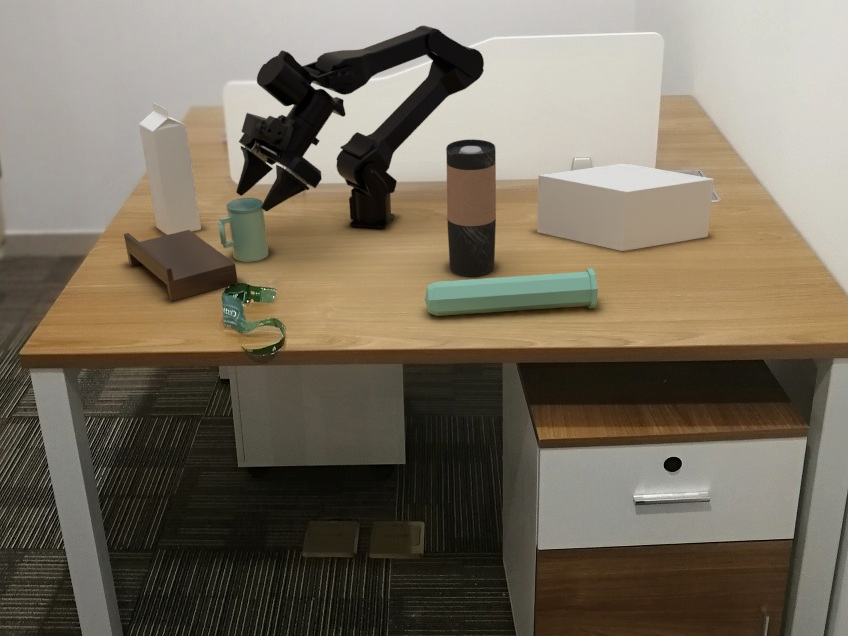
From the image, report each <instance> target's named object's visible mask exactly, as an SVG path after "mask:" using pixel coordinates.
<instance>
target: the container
mask: <svg viewBox="0 0 848 636" xmlns="http://www.w3.org/2000/svg"><path fill="white" fill-rule="evenodd" d="M598 294H599V287H598V280H597V273H596V272H595V270H594V268H593V267H589V268H586V270H585V271H577V272H575V271H573V272H562V273H561V272H560V273H547V274H531V275H515V276H502V277H487V278H486V277H485V278H474V279H458V280H443V281H441V280H440V281H433V282H432V283H430V284H428V285H427V286H426V291H425V296H424V302H425V305H426V308H427V311H428V314H430V315H433V316H436V317H443V316H458V315H472V314H485V313H501V312H516V311H530V310H544V309H546V310H547V309H557V308H573V307H587V308H588V309H595V308H596V306H597V305H598Z"/></svg>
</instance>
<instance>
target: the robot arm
mask: <svg viewBox="0 0 848 636" xmlns="http://www.w3.org/2000/svg"><path fill="white" fill-rule="evenodd" d="M424 56H426V57H427V58H429V59H430V60H431V64H430V67H429V70H428V74H427V77H426V78H425V79H424V80H423V81H422V82H421V83H420V84H419V85H418V86H417V87H416V88H415V90H413V91H412V92H411V93H410V95H408V96H407V98H406V99H405V100H404V101H403V102H401V104H400V105H399V106H398V107H397V108H396V109H395V110H393V112H392V113H391V114H390V115H389V116H388V117H387V118H386V119H385V120H384V121H383V122H382V123H381V124H380V125H379V126H378V127H377V128H376V129H375V130H374V131H373V132H372V133H369V134H367V135H366V134H363V133H360V132H358V131H357V132H355V133H354V134H353V135H352V136H351V137H350V139H349V140H348V141H347V142H346V143H345V144H343V145H341V146H340V147H339V148H340V149H341V151H340V152H339V154H338V155H337V156H336V170H337V173H338V175H339V176H340V177H341V178H343V179H344V181H345V183H346V185H347V186H349V187H351V188H352V189H351V190H350V194H351V195H350V197H349V198H348V202H349V218H350V220H351V222H349V226H350V227H354V228H366V229H367V228H368V229H379V230H385V229H386V228H387V227H388V225H389V224H390V223H391V222H392V221H393V219H394V218H395V213H392V203H391V200H392V199H391V194H393V193H395V190H396V187H397V183H398V181H397V179H396V178H394V177H393V176H392V175H391V174H389V173H388V171H389V169H390V166H391V162H392V159H393V155H394V154H395V152H396V151H397V150H398V149H399V147H400V146H402V145H403V144H404V142H405V141H406V140H408V138H410V136H411V135H412V134H413V133H414V132H415V131H416V130H417V129H418V128H419V127H420V126H421V125H422V124H423V123H424V122H425V121H426V119H428V117H429V116H430V115H432V113H433V112H434V111H435V110H436V109H438V107H439V106H440V105H441V104H442V103H443V102H444V101H445V100H446V99H447V98H448V97H449V96H452V95H455V94H456V93H459V92H461V91H464V90H466V89H467V88H469V87H471V86H472V85H473V84H474V83H476V82H477V81H478V80H479V79H480V78H481V77H482V75H483V73H484V71H485V70H484V66H485V61H484V57H483V54H482V53H481V52H480V50H477V49H476V48H473V47H469V46H466V45H463V44H461V43H459V42H458V41H456V40H454V39H452V38H451V37H449V36H447V35H446V34H445V33H443V32H442V31H441V30H440V29H439V28H436V27H431V26H428V25H420V26H418V27H416V28H415V29H413V30H410V31H407V32H404V33H402V34H399V35H396V36H393V37H391V38H388V39H385V40H383V41H381V42H377V43H375V44H372V45H370V46H366V47H364V48H360V49H342V50H335V51H329V52H324V53H322V54H321V55H319V56H318V57H317V59H316V61H313V62H310V63H308V64H304V65H302V64H301V63H299V62H298V61H297V60H296V59H295V58H294V56H293V54H291V53H290V52H288V51H286V50H280V52H279V53H278V54H277V55H275V56H273V57H271V58H270V59H269V60H268V61H266V63H263V64H262V66H261V67H260V69H259V70H258V73H257V76H256V84H257V85H258V86H259V87H260V88H261V89H262V90H264V91H265V92H267V93H268V94H269V95H270V96H272V97H273V98H274V99H275V100H276V101H277V102H279V103H280V104H281V105H282V106H284V107H291V106H292V107H291V109H290V111H289V112H288V113H287V114H286V115H283V114H281V115H278V116H277V117H275V116H272V115H268V116H267V117H263V116H259V115H256V114H253V113H249V112H246V114H245V117H244V122H243V125H242V127H241V128H242V129H241V133H243V135H242V136H241V138H240V139H239V140H238V143H240V144H241V145H240V150H241V151H242V155H243V160H244V161H243V166H242V170H241V173H240V177H239V180H238V184H237V188H236V191H235V192H236V194H237V195H239V196H243V195H245V194H246V193H247V192H249V191H250V190H251V189H252V188H253V187H254V186H255V185H256V184H258V183H259V182H260V181H261V180H262V179H263V178H264V177H265V176H267V175H268V174H269V173H270V172H271V171H273V169H274V168H273V167H272V166H273V165H275V171H276V172H275V173H276V178H275V180H274V181H273V184H272V186H271V188H270V189H269V191H268V193H267V195H266V196H265V198H264V200H263V205H262V209H263V210H264V212H268V211H270V210H272V209H273V208H275V207H277V206H278V205H280V204H283V202H286V201H287V200H289V199H291V198H293V197H294V196H297V195H298V194H300V193H302V192H304V191H309V190H310V188H313V189H317V187H318V186H319V184H320V182H321V181H322V178H323V177H322V170H320V169H319V168H317V166H315V165H314V164H312V162H310V161H309V160H307V159H306V158H305V157H304V156H305V154H306V153H307V151H308V150H309V149H310V147H311V145H314V146H315V147H317V146H318V145H319V143H320V140H319V139H318V138H317V137H318V135H319V133H320V132H321V130H322V129H323V127H324V126H325V125H326V123H327V122H328V120H329V118H330V117H331V116H332V114H335V115H337V116H340V117H346V116H347V115H346V114H347V113H346V110H345V105H344V103H345V102H344V99H343V98H340V97H338V96H335V97H333V96H332V95H331V94H330V93H329V92H328V91H326V90H325V89H327V90H329V91H333V92H335V93H336V94H338V95H339V94H340V95H342V96H343V95H344V96H346V95H350V94H353V93H354V92H355V91H357V90H359V89H361V88H362V87H364V86H365V85H367V83H369V81H370V80H371V78H372V77H374V76H376V75H377V74H379V73H383V72H385V71H388V70H391V69H393V68H396V67H398V66H400V65H404V64H406V63H408V62H411V61H413V60H416V59H419V58H422V57H424ZM312 84H314V85H316V86H319V87H322V88H317V89H316V88H314V86H312ZM323 88H325V89H323ZM280 165H281V166H280ZM282 166H283V167H284V168H283V167H282Z"/></svg>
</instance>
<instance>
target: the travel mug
mask: <svg viewBox="0 0 848 636" xmlns="http://www.w3.org/2000/svg"><path fill="white" fill-rule="evenodd" d="M445 151H446V221H447V240H448V257H449V268H450V271H451V272H452V273H453V274H455V275H457V276H460V277H467V278H475V277H483V276H486V275H489V274H490V273H492V272H493V270H494V268H495V255H496V254H495V253H496V229H497V225H496V224H497V194H496V193H497V183H496V181H497V177H496V176H497V175H496V173H497V172H496V171H497V170H496V164H497V162H496V160H497V159H496V154H497V153H496V152H497V151H496V145H495V144H494V143H493V142H492V141H489V140H485V139H484V140H483V139H473V138H472V139H470V138H469V139H461V140H456V141H452V142H450V143H449V144H447V146H446V148H445Z"/></svg>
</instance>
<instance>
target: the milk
mask: <svg viewBox="0 0 848 636" xmlns="http://www.w3.org/2000/svg"><path fill="white" fill-rule="evenodd" d="M151 103H152V104H151V105H152V111H151V113H149V114H148V115H146V117H145V118H144V119H142V120H141V121H140V122H139V123H138V126H139V127H138V128H139V132H140V138H141V145H142V150H143V156H144V160H145V162H144V163H145V167H146V174H147V180H148V185H149V190H150V196H151V201H152V202H151V203H152V208H153V215H154V220H155V226H156V228H157V229H158V230H159V231H161V232H162V233H163V234H165V236H166V235H170V234H174V233H178V232H182V231H186V230H190V231H191V232H193V233H194V232H197V231H201V230H202V223H201V218H200V212H199V205H198V199H197V192H196V191H197V190H196V185H195V178H194V177H195V176H194V171H193V165H192V157H191V151H190V150H191V149H190V144H189V137H188V130H187V125H186V124H185V123H183V122H182V121H180V120H177V119H176V118H174V117H172V116H169V115H168V110H167V108H166V107H164V106H162V105H160V104H158V103H156V102H154V101H152V102H151Z"/></svg>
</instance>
